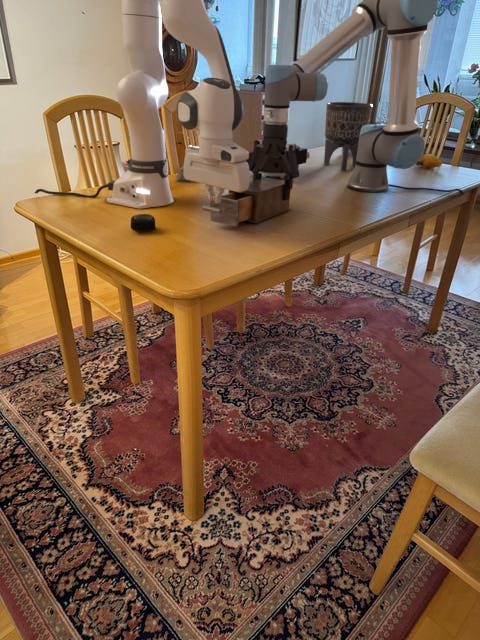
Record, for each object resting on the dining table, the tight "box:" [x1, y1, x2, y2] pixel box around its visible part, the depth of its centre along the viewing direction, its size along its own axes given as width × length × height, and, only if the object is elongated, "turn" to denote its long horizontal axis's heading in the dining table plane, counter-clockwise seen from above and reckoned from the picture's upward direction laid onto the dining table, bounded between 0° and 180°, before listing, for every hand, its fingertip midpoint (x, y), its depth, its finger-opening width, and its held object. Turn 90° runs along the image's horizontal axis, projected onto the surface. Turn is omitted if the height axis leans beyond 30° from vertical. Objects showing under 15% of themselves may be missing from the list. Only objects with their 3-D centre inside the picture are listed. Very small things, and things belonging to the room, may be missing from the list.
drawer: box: [201, 192, 254, 228], centre depth 133 cm, size 25×9×7 cm, turn 145°
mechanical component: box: [245, 144, 311, 179], centre depth 191 cm, size 22×21×30 cm
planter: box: [323, 101, 374, 172], centre depth 204 cm, size 20×20×26 cm
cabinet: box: [228, 177, 291, 224], centre depth 143 cm, size 20×10×9 cm, turn 145°
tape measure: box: [130, 213, 156, 233], centre depth 129 cm, size 7×7×4 cm
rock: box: [176, 164, 192, 183], centre depth 181 cm, size 13×9×6 cm, turn 131°
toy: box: [415, 153, 443, 170], centre depth 212 cm, size 11×6×15 cm
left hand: (214, 202), depth 125 cm, fingers closed
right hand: (271, 196), depth 148 cm, fingers closed on cabinet, 10 cm apart
